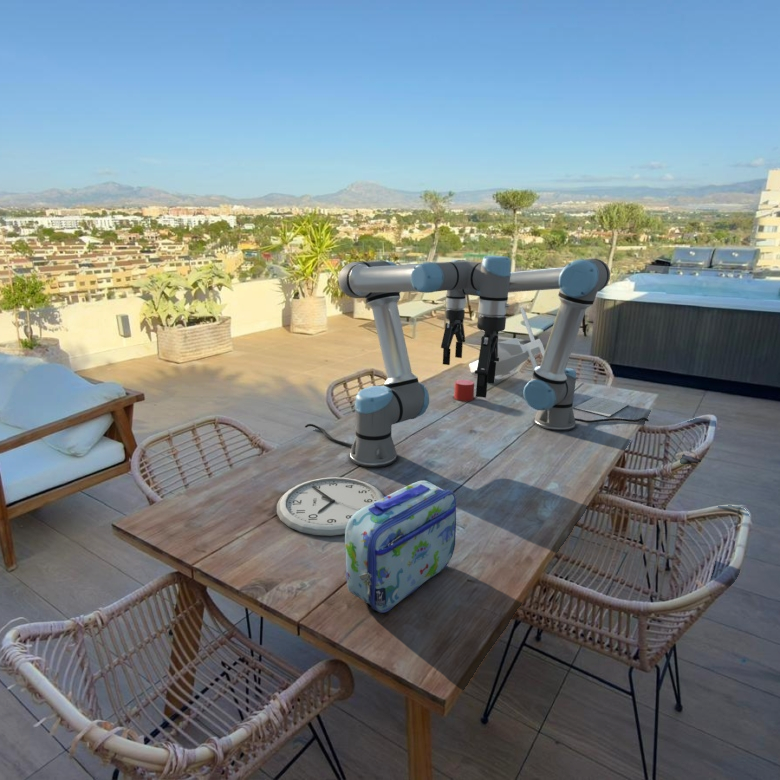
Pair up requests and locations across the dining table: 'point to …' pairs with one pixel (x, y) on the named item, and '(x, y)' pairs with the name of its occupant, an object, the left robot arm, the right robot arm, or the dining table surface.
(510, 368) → the white plastic object
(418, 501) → the lunch box
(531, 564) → the dining table surface
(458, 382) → the canister
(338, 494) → the wall clock
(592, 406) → the invitation card
